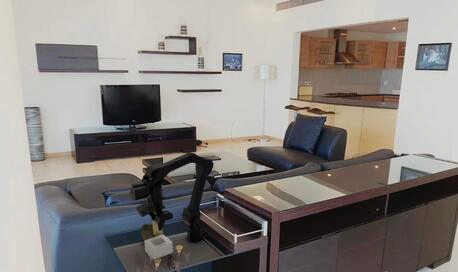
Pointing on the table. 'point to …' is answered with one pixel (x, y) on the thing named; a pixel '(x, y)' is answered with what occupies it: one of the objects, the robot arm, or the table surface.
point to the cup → (147, 231)
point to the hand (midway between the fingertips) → (157, 228)
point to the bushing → (156, 228)
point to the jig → (158, 246)
